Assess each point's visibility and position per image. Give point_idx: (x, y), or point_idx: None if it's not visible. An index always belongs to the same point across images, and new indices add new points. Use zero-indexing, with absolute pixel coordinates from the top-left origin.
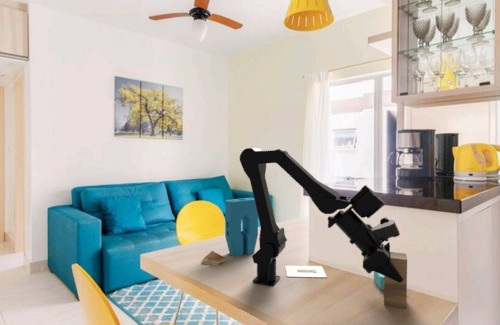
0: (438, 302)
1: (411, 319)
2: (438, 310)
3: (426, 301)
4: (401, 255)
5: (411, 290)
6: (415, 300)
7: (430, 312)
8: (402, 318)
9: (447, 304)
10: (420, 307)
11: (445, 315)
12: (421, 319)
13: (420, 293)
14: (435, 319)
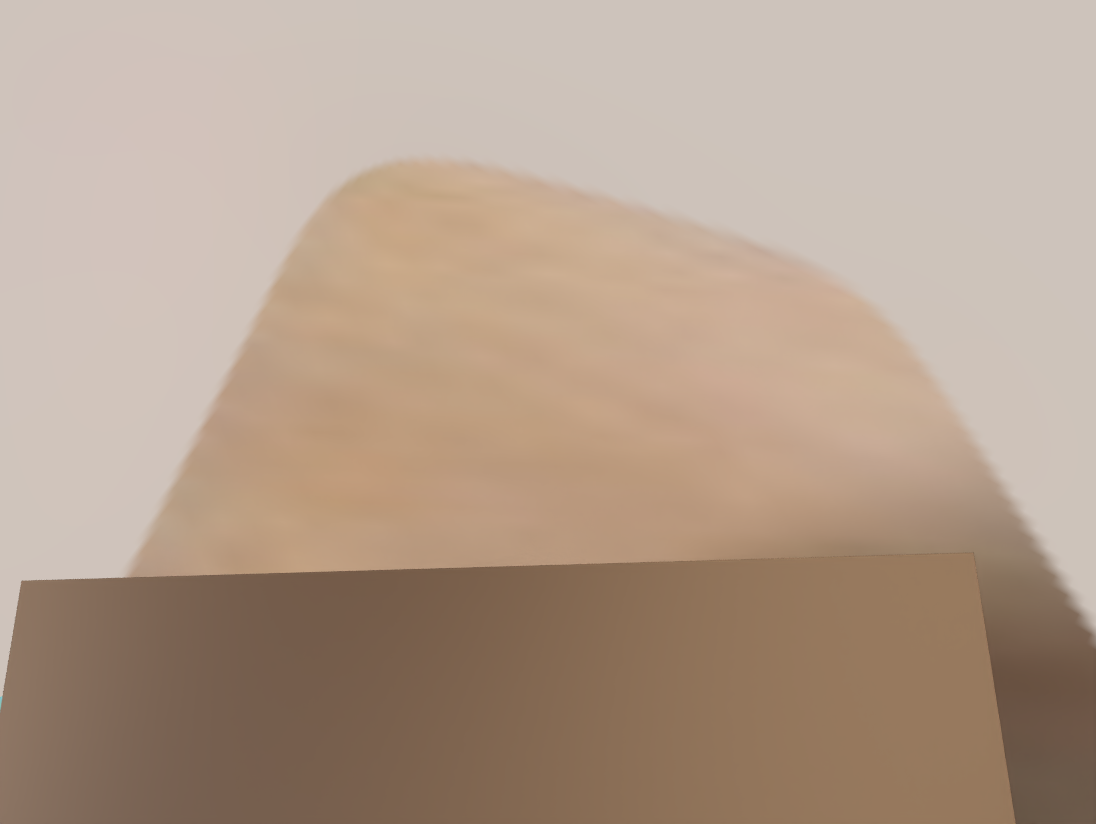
0: (406, 281)
1: (1045, 599)
2: (624, 293)
3: (429, 402)
4: (374, 806)
5: (152, 560)
6: (449, 525)
7: (721, 376)
8: (1085, 712)
9: (424, 200)
10: (633, 477)
11: (721, 235)
12: (972, 482)
13: (215, 457)
14: (882, 336)
